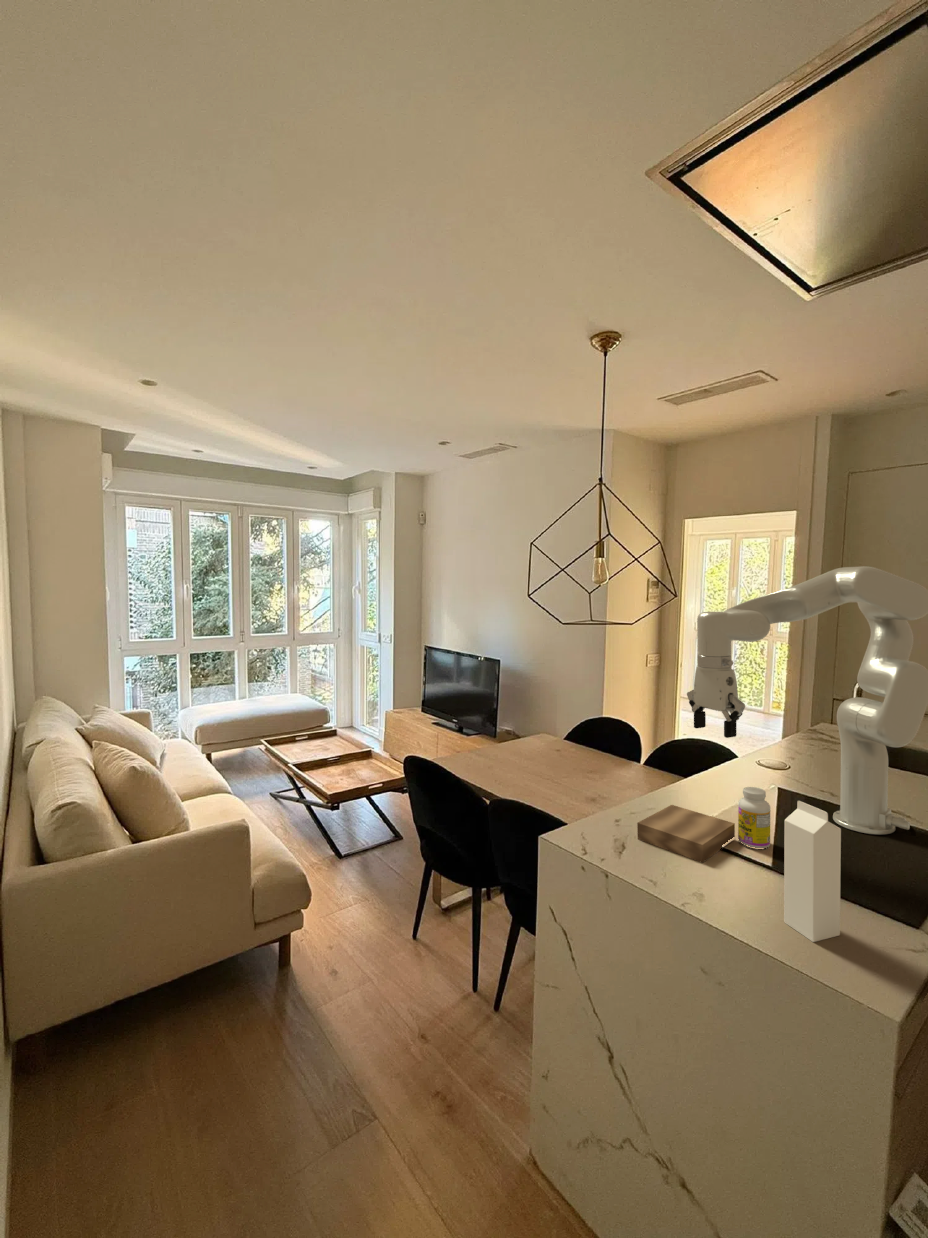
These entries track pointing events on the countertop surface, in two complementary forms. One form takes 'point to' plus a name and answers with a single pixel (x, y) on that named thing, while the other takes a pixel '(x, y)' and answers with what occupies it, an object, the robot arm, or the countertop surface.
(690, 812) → the plinth
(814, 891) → the milk
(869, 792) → the robot arm
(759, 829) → the supplement bottle
